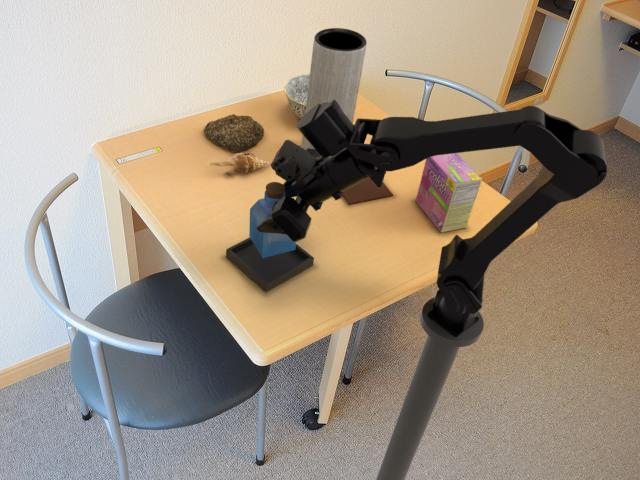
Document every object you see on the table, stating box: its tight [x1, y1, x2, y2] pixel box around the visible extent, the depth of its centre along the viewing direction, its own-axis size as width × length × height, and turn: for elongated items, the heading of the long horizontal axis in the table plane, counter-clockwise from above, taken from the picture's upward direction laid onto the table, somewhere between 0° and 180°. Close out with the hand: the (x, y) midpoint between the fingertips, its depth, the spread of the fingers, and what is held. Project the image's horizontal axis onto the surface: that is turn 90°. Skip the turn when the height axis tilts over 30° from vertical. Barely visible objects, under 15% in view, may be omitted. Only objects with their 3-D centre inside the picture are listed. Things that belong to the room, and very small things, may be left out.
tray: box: [225, 236, 315, 293], centre depth 118 cm, size 11×11×2 cm
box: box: [415, 153, 483, 233], centre depth 126 cm, size 10×6×12 cm, turn 17°
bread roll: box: [203, 113, 265, 153], centre depth 147 cm, size 13×12×5 cm
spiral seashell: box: [207, 151, 272, 177], centre depth 137 cm, size 14×5×4 cm, turn 127°
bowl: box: [283, 73, 310, 119], centre depth 152 cm, size 16×16×8 cm
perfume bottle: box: [248, 181, 297, 258], centre depth 111 cm, size 6×6×12 cm
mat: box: [341, 177, 394, 206], centre depth 136 cm, size 10×10×1 cm
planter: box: [300, 27, 368, 158], centre depth 134 cm, size 10×10×27 cm
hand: (266, 213), depth 111 cm, fingers closed on perfume bottle, 9 cm apart
